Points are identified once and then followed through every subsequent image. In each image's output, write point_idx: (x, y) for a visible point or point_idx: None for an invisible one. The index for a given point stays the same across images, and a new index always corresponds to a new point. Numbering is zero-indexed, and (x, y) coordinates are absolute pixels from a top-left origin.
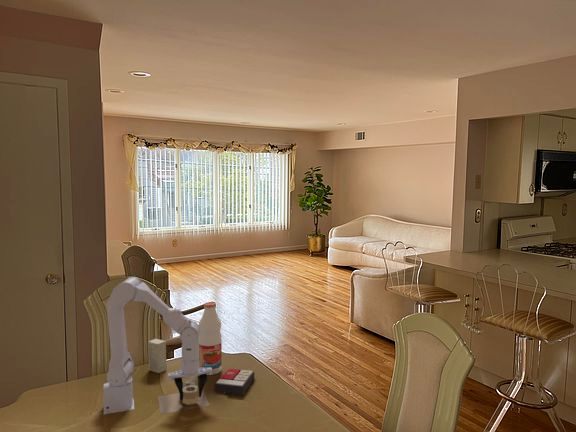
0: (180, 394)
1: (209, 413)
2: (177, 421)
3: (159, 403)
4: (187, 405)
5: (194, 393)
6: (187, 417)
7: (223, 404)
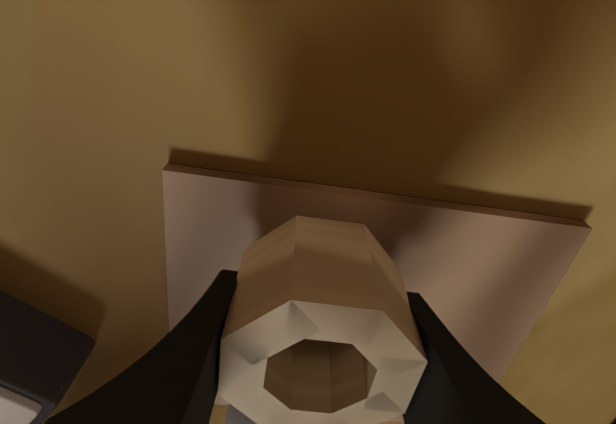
0: (453, 337)
1: (190, 54)
2: (526, 61)
3: (508, 360)
4: None
5: (301, 287)
6: (411, 88)
7: (31, 154)
